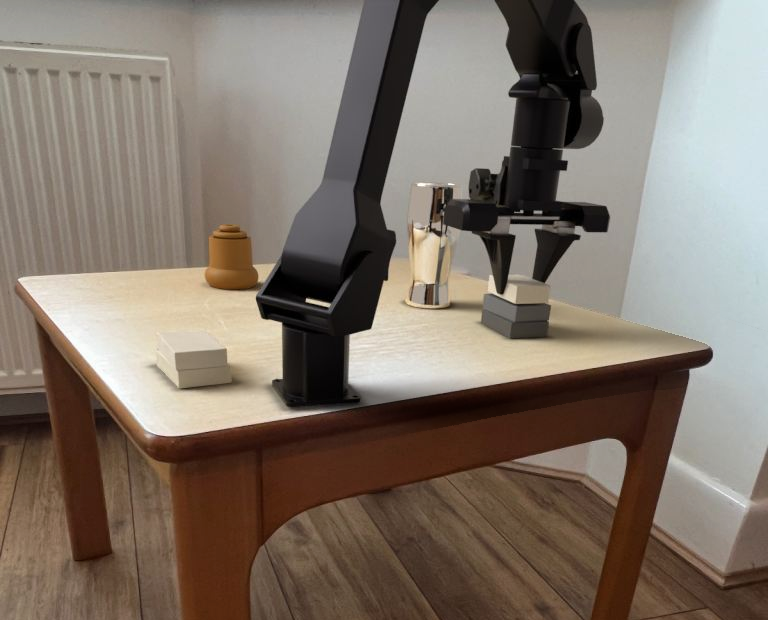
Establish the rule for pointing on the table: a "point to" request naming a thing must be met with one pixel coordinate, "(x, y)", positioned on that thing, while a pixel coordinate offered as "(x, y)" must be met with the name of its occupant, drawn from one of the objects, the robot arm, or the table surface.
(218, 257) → the ornamental finial
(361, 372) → the table surface
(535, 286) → the off-white rectangular block
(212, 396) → the table surface
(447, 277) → the beer glass
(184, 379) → the white books
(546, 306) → the grey books
